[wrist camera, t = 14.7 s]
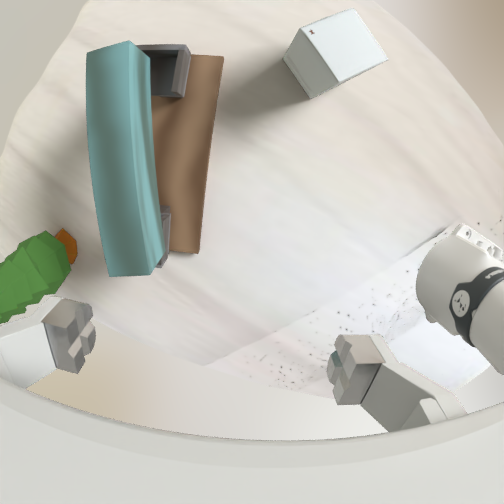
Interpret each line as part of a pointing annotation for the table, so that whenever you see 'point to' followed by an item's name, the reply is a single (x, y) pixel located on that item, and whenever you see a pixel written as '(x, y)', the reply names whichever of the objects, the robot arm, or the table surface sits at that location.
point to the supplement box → (332, 52)
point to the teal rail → (123, 158)
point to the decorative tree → (34, 271)
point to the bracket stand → (182, 138)
